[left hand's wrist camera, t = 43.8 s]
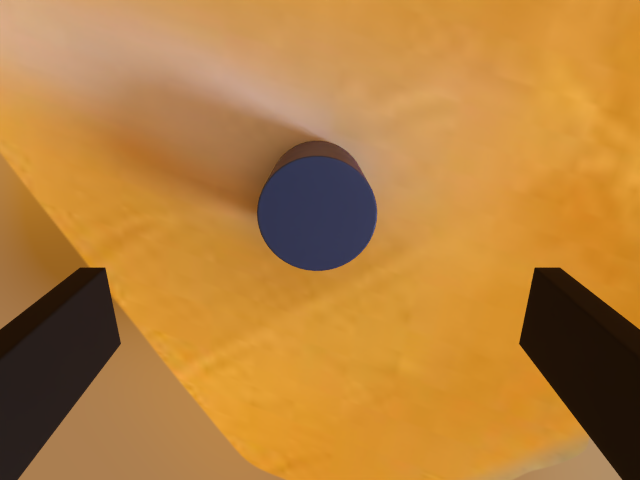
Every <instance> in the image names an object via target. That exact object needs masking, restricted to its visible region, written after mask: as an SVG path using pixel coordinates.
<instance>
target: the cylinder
mask: <svg viewBox="0 0 640 480" xmlns="http://www.w3.org/2000/svg"><path fill="white" fill-rule="evenodd" d="M257 218H258V225H259V229H260V232H261V235H262V237H263V239H264V241H265V242H266V244H267V245H268V247H269V248H270V249H271V250H272V251H273V253H274V254H276V255H277V256H278V257H279V258H280V259H282V260H283V261H285V262H286V263H288V264H290V265H292V266H295V267H297V268H301V269H305V270H312V271H323V270H330V269H334V268H337V267H340V266H342V265H344V264H346V263H348V262H350V261H351V260H353V259H354V258H355V257H357V256H358V255H359V254H360V253H361V252H362V251H363V249H364V248H365V247H366V246H367V244H368V243H369V241H370V239H371V237H372V235H373V233H374V229H375V226H376V221H377V206H376V201H375V197H374V194H373V191H372V189H371V187H370V185H369V184H368V182H367V180H366V178H365V176H364V175H363V173H362V171H361V169H360V167H359V166H358V164H357V162H356V161H355V159H354V158H353V157H352V156H351V155H350V154H349V153H348V152H347V151H345V150H344V149H343V148H341V147H339V146H337V145H335V144H332V143H328V142H323V141H312V142H306V143H302V144H300V145H297V146H295V147H293V148H292V149H290V150H289V151H288V152H286V153H285V154H284V155H283V156H282V157H281V158H280V160H279V161H278V163H277V164H276V166H275V168H274V170H273V171H272V173H271V175H270V177H269V178H268V180H267V182H266V184H265V186H264V188H263V189H262V192H261V194H260V197H259V202H258V208H257Z"/></svg>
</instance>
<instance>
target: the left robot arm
mask: <svg viewBox="0 0 640 480" xmlns="http://www.w3.org/2000/svg"><path fill="white" fill-rule="evenodd" d="M120 344H121V342H120V337H119V333H118V328H117V323H116V318H115V313H114V308H113V303H112V298H111V294H110V289H109V284H108V279H107V274H106V269H105V268H79V269H78V270H76V271H75V272H74V273H73V274H71V275H70V276H69V277H67V278H66V279H65V280H64V281H62V282H61V283H60V284H58V285H57V286H56V287H55V288H53V289H52V290H51V291H49V292H48V293H47V294H46V295H44V296H43V297H42V298H40V299H39V300H38V301H37V302H35V303H34V304H33V305H31V306H30V307H29V308H28V309H26V310H25V311H24V312H22V313H21V314H20V315H19V316H17V317H16V318H15V319H13V320H12V321H11V322H9V323H8V324H7V325H6V326H4V327H3V328H2V329H1V330H0V480H18V479H19V477H20V476H21V474H22V473H23V472H24V471H25V469H26V468H27V467H28V465H29V464H30V463H31V461H32V460H33V459H34V457H35V456H36V455H37V453H38V452H39V451H40V450H41V448H42V447H43V446H44V444H45V443H46V442H47V440H48V439H49V438H50V436H51V435H52V434H53V432H54V431H55V430H56V428H57V427H58V426H59V425H60V423H61V422H62V421H63V419H64V418H65V417H66V415H67V414H68V413H69V411H70V410H71V409H72V407H73V406H74V405H75V403H76V402H77V401H78V399H79V398H80V397H81V396H82V394H83V393H84V392H85V390H86V389H87V388H88V386H89V385H90V384H91V382H92V381H93V380H94V378H95V377H96V376H97V374H98V373H99V372H100V371H101V369H102V368H103V367H104V365H105V364H106V363H107V361H108V360H109V359H110V357H111V356H112V355H113V353H114V352H115V351H116V349H117V348H118V347H119V345H120ZM519 344H520V346H521V347H522V348H523V349H524V351H525V352H526V353H527V355H528V356H529V357H530V359H531V360H532V361H533V363H534V364H535V365H536V367H537V368H538V369H539V371H540V372H541V373H542V374H543V376H544V377H545V378H546V380H547V381H548V382H549V384H550V385H551V386H552V388H553V389H554V390H555V392H556V393H557V394H558V396H559V397H560V398H561V400H562V401H563V402H564V403H565V405H566V406H567V407H568V409H569V410H570V411H571V413H572V414H573V415H574V417H575V418H576V419H577V421H578V422H579V423H580V425H581V426H582V427H583V428H584V430H585V431H586V432H587V434H588V435H589V436H590V438H591V439H592V440H593V441H594V443H595V444H596V446H597V447H598V448H599V449H600V451H601V452H602V453H603V455H604V456H605V457H606V459H607V460H608V461H609V463H610V464H611V465H612V467H613V468H614V469H615V471H616V472H617V473H618V475H619V476H620V477H621V478H622V480H640V329H638V328H637V327H636V326H634V325H633V324H632V323H631V322H629V321H628V320H627V319H625V318H624V317H623V316H621V315H620V314H619V313H618V312H616V311H615V310H614V309H612V308H611V307H610V306H609V305H607V304H606V303H605V302H603V301H602V300H601V299H600V298H598V297H597V296H596V295H594V294H593V293H592V292H591V291H589V290H588V289H587V288H585V287H584V286H583V285H582V284H580V283H579V282H578V281H576V280H575V279H574V278H573V277H571V276H570V275H569V274H567V273H566V272H565V271H564V270H562V269H561V268H535V269H534V274H533V279H532V284H531V289H530V294H529V298H528V303H527V308H526V313H525V318H524V323H523V328H522V333H521V337H520V342H519Z"/></svg>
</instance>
